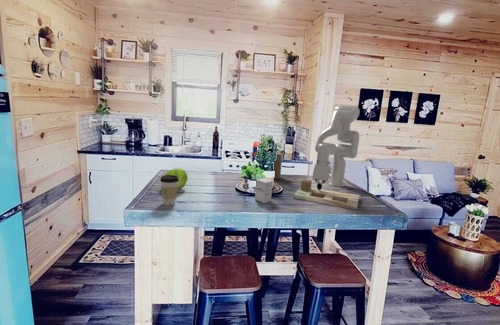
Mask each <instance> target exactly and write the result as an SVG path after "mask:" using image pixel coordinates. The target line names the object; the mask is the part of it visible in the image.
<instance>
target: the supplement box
mask: <svg viewBox="0 0 500 325" xmlns="http://www.w3.org/2000/svg"><path fill="white" fill-rule="evenodd" d="M273 183H274V182H273V180H271V179H268V178H263V177H262V179H258V180H256V186H255V191H254V192H255V193H254V200H255V201H258V202H260V203H263V204H265V203H268V202H271V201H272V193H273V192H272V190H273Z"/></svg>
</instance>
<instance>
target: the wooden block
mask: <svg viewBox="0 0 500 325" xmlns="http://www.w3.org/2000/svg"><path fill="white" fill-rule="evenodd" d="M277 152H278V154H277V160H276V161H275V162H274V171H275V179H274V180H278V179H279V180H280V178H281V175H282V174H281V172H282V162H283V152H279V151H277Z"/></svg>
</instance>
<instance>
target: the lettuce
mask: <svg viewBox="0 0 500 325" xmlns="http://www.w3.org/2000/svg"><path fill="white" fill-rule="evenodd" d="M164 175H175V176H177V177H178V179H179V181H178V187H177V190H180V189H182V188H184V187H185V186H186V184H187V182H188V179H189V178H188V174H187V172H186V171H185V170H184V169H183V168H172V169H171V170H169V171H167V172H166V173H164Z"/></svg>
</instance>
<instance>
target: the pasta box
mask: <svg viewBox="0 0 500 325" xmlns="http://www.w3.org/2000/svg"><path fill="white" fill-rule="evenodd" d="M259 143H260V142H259V141H254V142H253V146H252V153H251V155H252V157H251V162H252V161H254V160H255V156H256V153H257V145H258V144H259Z"/></svg>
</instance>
